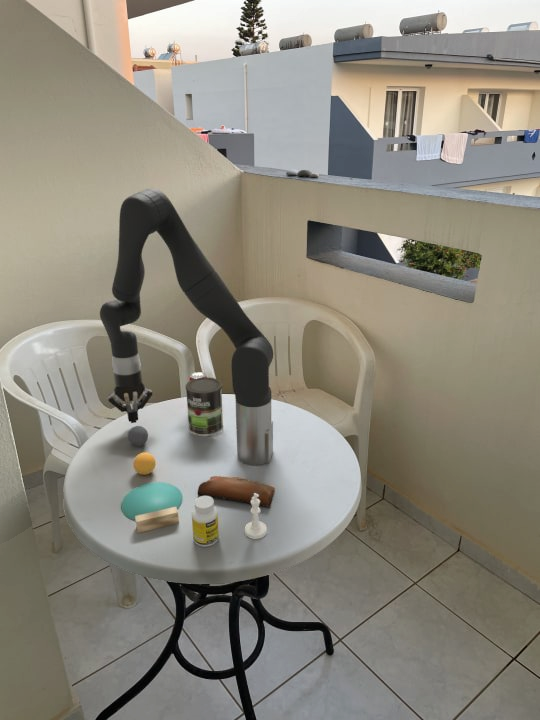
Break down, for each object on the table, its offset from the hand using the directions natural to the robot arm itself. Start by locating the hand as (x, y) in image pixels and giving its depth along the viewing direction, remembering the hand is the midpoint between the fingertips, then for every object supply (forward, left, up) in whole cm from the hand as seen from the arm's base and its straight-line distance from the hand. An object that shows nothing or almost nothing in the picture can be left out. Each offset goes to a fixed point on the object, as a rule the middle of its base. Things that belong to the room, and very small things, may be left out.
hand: (133, 421), depth 149 cm
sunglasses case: (-37, +24, -3) cm, 45 cm away
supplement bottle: (-34, +41, -2) cm, 53 cm away
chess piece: (-44, +37, -2) cm, 57 cm away
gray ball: (-5, +9, +1) cm, 10 cm away
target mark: (-18, +31, -2) cm, 36 cm away
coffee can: (-21, -3, -2) cm, 22 cm away
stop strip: (-22, +38, -2) cm, 45 cm away
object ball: (-12, +21, +1) cm, 24 cm away
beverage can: (-16, -13, -2) cm, 21 cm away
